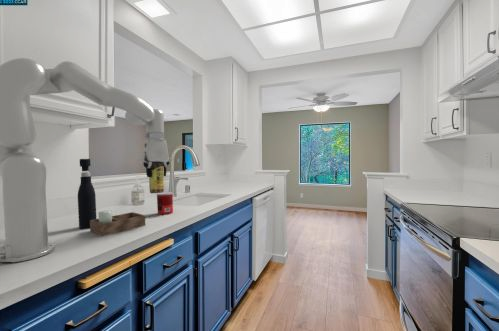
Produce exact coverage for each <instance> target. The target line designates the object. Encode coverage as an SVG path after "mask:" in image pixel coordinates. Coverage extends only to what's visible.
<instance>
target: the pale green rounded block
mask: <svg viewBox="0 0 499 331" xmlns="http://www.w3.org/2000/svg"><path fill="white" fill-rule="evenodd" d="M112 216H113V211H112V210H103V211H99V212H98V219H99V223H101V224H104V223H109V222H112Z"/></svg>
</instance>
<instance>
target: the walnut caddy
mask: <svg viewBox="0 0 499 331" xmlns="http://www.w3.org/2000/svg"><path fill="white" fill-rule="evenodd" d="M144 226H146V215H145V214H141V213H137V212H135V211H132V212H125V213H121V214H115V215H112V222H109V223H104V224H101V223H99V218H96V219H94V220H90V228H89V231H90V232H91V233H93V234H96V235H97V236H99V237H104V236H108V235H112V234H116V233H117V234H118V233H120V232H124V231H125V232H126V231H128V230H131V229H136V228H141V227H144Z"/></svg>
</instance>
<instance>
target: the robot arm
mask: <svg viewBox="0 0 499 331" xmlns="http://www.w3.org/2000/svg"><path fill="white" fill-rule="evenodd" d="M72 91H74V92H76V93H77V94H79V95H81V96H83V97H85V98H87V99H88V100H90V101H92V102H94V103H95V104H97V105H99V106H103V107H110V108H116V109H120V110H123V111H125V114H124V117H125V121H126V122H128V123H129V124H130V125H133V126H145V128H146V132H145V133H144V134H143V137H144V138H145V140H144V145H143V155H142V156H140V158H138V161H139V163H140V164H142V166H143V167H144V168H145V173H146V177H147V178H149V177H152V168H151V165H152V162H162V164H163V166H164V177H167V168H168V166H169V165H170V163H171V162H172V160H173V159H172V157H170V156H169V149H168V144H167V140H166V139H165V119H164V112H163V111H162V110H160V109H155V108H152V106H151V105H150V104H148V103H147V102H146V101H144V100H143V99H141V98H140V97H138V96H137V95H134V94H132V93H131V92H130V93H129V92H127V91H125V90H122V89H120V88H117V87H114V86H111V85H110V84H108V83H107V82H105V81H104V80H102V79H100V78H99V77H97V76H96V75H95V74H92V73H91V72H89V70H86V69H85V68H83V67H82V66H80V65H78V64H77V63H75V62H72V61H62V62H60V63H58V64H57V65H56V66H54V67H53V68H44V67H43V65H42V64H40V63H39V62H37V60H34V59H30V58H26V57H25V58H24V57H21V58H15V59H14V58H13V59H11V60H7V61H6V62H4V63H2V64H1V65H0V176H1V177H2V206H3V218H4V219H3V220H4V237H5V241H4V242H3V243H2V245H1V246H0V263H2V262H12V263H18V262H24V261H28V260H33V259H36V258H40V257H43V256H45V255H48V254H50V253H52V252H53V251H54V250H55V248H56V245H55V244H53V243H49V235H48V234H49V232H48V213H47V197H46V196H47V195H46V191H47V190H46V186H47V167H46V164H45V162H44V161H43V159H42V158H40V157H39V156H38V155H36V153H35V148H34V143H35V142H36V140H37V131H36V128H35V124H34V119H33V115H32V108H31V107H32V106H31V101H30V100H31V99H30V98H31V96H39V95H50V94H51V95H52V94H62V93H69V92H72Z"/></svg>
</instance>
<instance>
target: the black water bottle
mask: <svg viewBox="0 0 499 331" xmlns="http://www.w3.org/2000/svg"><path fill="white" fill-rule="evenodd" d="M79 167H81V171H82V172H81V173H80V174H81V175H80V184H79V187H78V190H77V210H78V214H77V215H78V229H80V230H88V229H89V230H90V220H94V219H97V202H96V201H97V200H96V191H95V188H94V186H93V183H92V176H91V172H90V167H91V158H80V159H79Z"/></svg>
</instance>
